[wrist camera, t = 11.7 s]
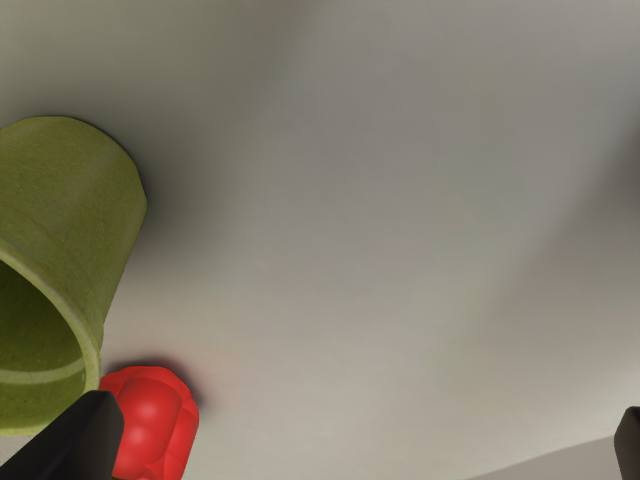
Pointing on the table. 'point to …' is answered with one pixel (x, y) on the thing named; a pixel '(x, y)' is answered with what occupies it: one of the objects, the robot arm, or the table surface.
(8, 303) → the plant pot
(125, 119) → the table surface
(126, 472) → the pepper
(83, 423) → the robot arm
